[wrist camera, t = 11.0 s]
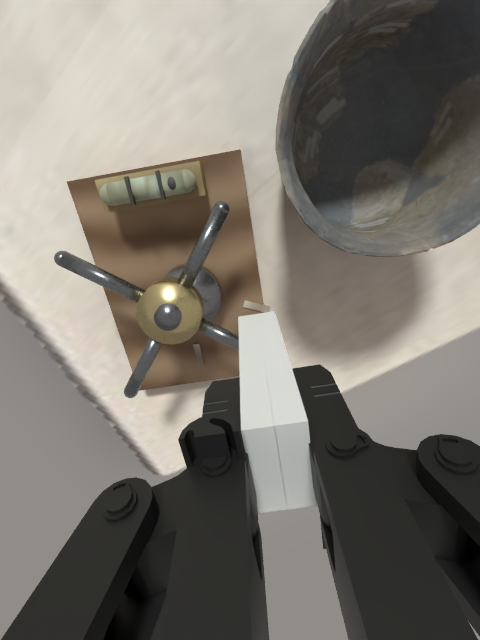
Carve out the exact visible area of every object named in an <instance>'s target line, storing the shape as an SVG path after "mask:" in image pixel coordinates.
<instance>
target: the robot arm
mask: <svg viewBox="0 0 480 640" xmlns="http://www.w3.org/2000/svg"><path fill="white" fill-rule="evenodd" d="M238 330H239V372H240V378H234V379H227V380H221V381H214V382H212V384H211V385H210V386H209V388H208V389H207V391H206V392H205V399H204V406H203V414H202V417H201V418H199V419H197V420H195V421H193V422H192V423H190V424H189V425H188V426H187V427H186V428H185V429H184V430H183V431H182V433H181V435H180V437H179V439H178V440H179V444H180V447H181V450H182V453H183V456H184V460H185V463H186V466H187V469H186V470H184V471H183V472H182V473H181V474H179V475H178V476H176V477H174V478H172V479H170V480H168V481H165V482H163V483H161V484H158V485H156V486H154V487H151V486H150V485H149V484H148V483H147V481H145V480H143V479H140V478H127V479H124V480H121V481H119V482H116V483H114V484H112V485H111V486H110V487H108V488H107V489H106V490H104V491H103V492H102V493H101V494H100V495H99V496H98V498H97V499H96V500H95V501H94V502H93V504H92V505H91V507H90V508H89V510H88V511H87V513H86V514H85V516H84V517H83V519H82V520H81V522H80V523H79V525H78V526H77V528H76V529H75V531H74V532H73V534H72V535H71V536H70V538H69V540H68V541H67V543H66V544H65V545H64V547H63V548H62V550H61V551H60V553H59V554H58V556H57V557H56V559H55V560H54V562H53V563H52V565H51V566H50V568H49V569H48V571H47V572H46V574H45V575H44V577H43V578H42V580H41V581H40V583H39V584H38V586H37V587H36V589H35V590H34V592H33V593H32V594H31V596H30V597H29V599H28V600H27V602H26V603H25V605H24V607H23V608H22V609H21V611H20V613H19V614H18V615H17V617H16V618H15V620H14V621H13V623H12V624H11V626H10V627H9V629H8V630H7V632H6V633H5V635H4V636H3V638H2V639H1V640H269V631H268V619H267V606H266V594H265V579H264V566H263V553H262V542H261V541H262V540H261V533H260V528H259V524H258V513H264V512H272V511H280V510H288V509H295V508H303V507H311V506H317V504H318V508H319V512H320V519H321V529H322V539H323V548H324V549H327V553H328V557H329V561H330V565H331V570H332V573H333V578H334V582H335V586H336V590H337V594H338V598H339V602H340V606H341V610H342V614H343V618H344V623H345V627H346V630H347V635H348V639H349V640H478V639H477V637H476V635H475V634H474V631H473V629H472V628H471V626H470V624H471V625H472V627H473V628H474V629H475V631H476V632H477V633H478V635H479V636H480V446H478V445H477V444H475V443H473V442H472V441H470V440H466V439H463V438H461V437H458V436H453V435H442V434H440V435H435V436H429V437H427V438H426V439H424V440H423V441H421V442H420V444H419V447H418V449H417V450H409V449H400V448H393V447H388V446H384V445H381V444H378V443H376V442H374V441H373V440H372V439H371V438H370V437H369V435H368V434H367V433H365V432H363V431H362V430H360V429H359V428H358V427H357V425H356V423H355V421H354V419H353V417H352V415H351V413H350V411H349V409H348V407H347V405H346V403H345V401H344V399H343V397H342V395H341V393H340V391H339V389H338V387H337V385H336V383H335V381H334V379H333V376H332V374H331V372H329V371H328V370H327V369H325V368H324V367H322V366H321V365H314V366H307V367H300V368H294V369H292V366H291V363H290V360H289V357H288V353H287V350H286V347H285V343H284V340H283V337H282V334H281V330H280V327H279V324H278V320H277V317H276V314H275V311H271V312H265V313H259V314H253V315H246V316H240V317H238ZM316 500H317V501H316ZM257 509H258V511H257ZM468 621H469V622H468ZM469 623H470V624H469Z"/></svg>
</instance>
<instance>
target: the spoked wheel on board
mask: <svg viewBox="0 0 480 640" xmlns="http://www.w3.org/2000/svg"><path fill="white" fill-rule="evenodd" d="M67 184H68V187H69V190H70V192H71V195H72V198H73V201H74V204H75V207H76V210H77V213H78V216H79V218H80V221H81V224H82V227H83V230H84V233H85V236H86V239H87V242H88V244H89V247H90V250H91V253H92V256H93V259H94V262H95V265H96V266H97V267H99V268H101V269H103V270H105V271H107V272H109V273H111V274H113V275H115V276H117V277H120V278H122V279H124V280H126V281H128V282H130V283H132V284H134V285H136V286H138V287H140V288H142V289H144V290H147V288H148V287H149V286H150V285H151V284H152V283H153V282H155V281H157V280H159V279H161V278H164V277H165V276H166V275H167V273H168V272H169V271H170V270H172V269H173V268H175V267H176V266H179V265H182V264H186V262H187V260H188V258H189V256H190V254H191V252H192V250H193V248H194V246H195V244H196V242H197V240H198V238H199V236H200V234H201V232H202V230H203V228H204V226H205V223H206V221H207V219H208V217H209V215H210V213H211V211H212V209H213V207H214V205H215V204H216V203H217V202H219V201H225V202H226V203H227V204H228V205H229V207H230V212H229V215H228V217H227V219H226V221H225V222H224V224H223V226H222V228H221V230H220V232H219V234H218V236H217V238H216V240H215V242H214V244H213V246H212V248H211V250H210V252H209V254H208V256H207V258H206V260H205V262H204V264H203V267H205V268H207V269H209V270H210V271H211V272H212V273H213V274H214V275H215V276H216V278H217V279H218V281H219V283H220V286H221V292H222V293H221V303H220V308H219V310H218V313H217V314H216V316H215V317H214V318H213V319H212V320H211V321H210V322H212V323H214V324H216V325H218V326H220V327H222V328H224V329H226V330H229V331H231V332H233V333H235V334H237V335H239V330H238V317H240V316H246V315H253V314H259V313H264V312H269V311H270V308H271V307H269V306H265V305H263V300H262V293H261V286H260V279H259V273H258V266H257V259H256V252H255V245H254V239H253V232H252V225H251V218H250V211H249V205H248V198H247V191H246V184H245V177H244V171H243V164H242V157H241V150H236V151H230V152H225V153H219V154H214V155H209V156H203V157H198V158H192V159H187V160H182V161H176V162H171V163H165V164H160V165H155V166H149V167H144V168H139V169H133V170H128V171H122V172H117V173H112V174H106V175H101V176H95V177H90V178H85V179H79V180H74V181H69V182H67ZM103 288H104V291H105V293H106V296H107V299H108V302H109V305H110V308H111V311H112V314H113V317H114V319H115V322H116V325H117V328H118V331H119V334H120V337H121V340H122V342H123V345H124V348H125V351H126V354H127V357H128V360H129V363H130V366H131V368H132V371H134V369H135V367H136V365H137V363H138V361H139V358H140V356H141V354H142V352H143V350H144V348H145V346H146V344H147V342H148V340H149V338H150V337H149V336H148V335H146V334H145V333H144V331H143V330H142V329H141V327H140V326H139V323H138V321H137V317H136V307H137V302H135V301H133V300H130V299H128V298H126V297H124V296H122V295H120V294H118V293H116V292H114V291H112V290H109V289H107V288H105V287H103ZM233 376H240V372H239V351H238V350H236V349H234V348H231V347H229V346H227V345H225V344H223V343H221V342H219V341H217V340H215V339H213V338H210V337H208V336H206V335H204V334H202V333H200V332H198V331H197V332H196V333H195V334H194V336H192V337H191V338H190V339H189V340H187V341H185V342H182V343H179V344H164V343H163V344H162V346H161V348H160V350H159V352H158V354H157V356H156V358H155V360H154V362H153V364H152V366H151V368H150V370H149V371H148V373H147V375H146V377H145V379H144V381H143V383H142V385H141V387H140V389H139V390H146V389H153V388H159V387H166V386H173V385H180V384H186V383H193V382H200V381H206V380H213V379H220V378H226V377H233Z"/></svg>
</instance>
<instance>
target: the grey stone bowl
mask: <svg viewBox="0 0 480 640" xmlns="http://www.w3.org/2000/svg"><path fill="white" fill-rule="evenodd" d="M276 154H277V159H278V163H279V168H280V173H281V177H282V181H283V184H284V187H285V190H286V193H287V196H288V198H289V200H290V202H291V203H292V205H293V206H294V208H295V209H296V210H297V212H298V213H299V215H300V216H301V218H302V219H303V221H304V222H305V224H306V225H307V226H308V227H309V228H310V229H311V230H312V231H313V232H314V233H315V234H317V235H318V236H319V237H320V238H321V239H322V240H324V241H326V242H327V243H329V244H331V245H332V246H334V247H336V248H338V249H340V250H342V251H346V252H350V253H355V254H361V255H368V256H381V257H392V256H404V255H409V254H415V253H420V252H426V251H428V250H429V249H430V248H437V247H439V246H442V245H444V244H447V243H450V242H452V241H454V240H455V239H457V238H459V237H461V236H462V235H464V234H466V233H467V232H469V231H471V230H472V229H473V228H475V227H476V226H477V225H479V224H480V0H331V1H330V2H329V3H328V5H327V6H326V7H325V8H324V9H323V10H322V11H321V12H320V13H319V14H318V16H317V18H316V19H315V21H314V23H313V24H312V26H311V28H310V29H309V31H308V33H307V35H306V36H305V38H304V40H303V42H302V44H301V46H300V48H299V50H298V51H297V53H296V55H295V57H294V62H293V66H292V69H291V71H290V72H289V74H288V76H287V79H286V82H285V85H284V89H283V92H282V96H281V100H280V105H279V112H278V119H277V127H276Z"/></svg>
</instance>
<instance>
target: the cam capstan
mask: <svg viewBox="0 0 480 640" xmlns="http://www.w3.org/2000/svg"><path fill="white" fill-rule="evenodd" d="M229 212H230V207H229V205H228V204H227V203H226V202H225V201H219V202H217V203H216V204H215V205H214V207H213V209H212V211H211V213H210V215H209V217H208V219H207V221H206V223H205V226H204V228H203V230H202V232H201V234H200V236H199V238H198V240H197V242H196V244H195V246H194V248H193V250H192V252H191V254H190V256H189V258H188V260H187V262H186V264H182V265H179V266H176V267H175V268H173V269H172V270H170V271H169V272H168V273H167V275H166V276H165V277H164V278H161V279H159V280H157V281H155V282H153V283H152V284H151V285H150V286H149V287H148V288H147V290H144V289H142V288H140V287H138V286H136V285H134V284H132V283H130V282H128V281H126V280H124V279H122V278H120V277H117V276H115V275H113V274H111V273H109V272H107V271H105V270H103V269H101V268H99V267H97V266H95V265H93V264H91V263H89V262H87V261H85V260H83V259H80V258H78V257H76V256H74V255H72V254H70V253H68V252H66V251H59V252H57V253H56V254H55V256H54V260H55V262H56V264H58V265H59V266H61V267H63V268H65V269H67V270H69V271H72V272H74V273H76V274H78V275H80V276H82V277H84V278H86V279H88V280H91V281H93V282H95V283H97V284H99V285H101V286H103V287H105V288H107V289H109V290H112V291H114V292H116V293H118V294H120V295H122V296H124V297H126V298H128V299H130V300H133V301H135V302H137V307H136V317H137V321H138V323H139V326H140V327H141V329H142V330H143V331H144V333H145V334H146V335H148V336H149V337H150V338H149V340H148V342H147V344H146V346H145V348H144V350H143V352H142V354H141V356H140V358H139V361H138V363H137V365H136V367H135V369H134V371H133V373H132V375H131V377H130V379H129V381H128V383H127V385H126V387H125V389H124V394H125V396H126V397H128V398H133V397H135V396H136V395H137V393H138V391H139V389H140V387H141V385H142V383H143V381H144V379H145V377H146V375H147V373H148V371H149V370H150V368H151V366H152V364H153V362H154V360H155V358H156V356H157V354H158V352H159V350H160V348H161V346H162V344H163V343H164V344H179V343H182V342H185V341H187V340H189V339H190V338H191V337H192V336H194V334H195V333H196V332H197V331H198V332H200V333H202V334H204V335H206V336H208V337H210V338H213V339H215V340H217V341H219V342H221V343H223V344H225V345H227V346H229V347H231V348H234V349H236V350H238V351H239V335H237V334H235V333H233V332H231V331H229V330H226V329H224V328H222V327H220V326H218V325H216V324H214V323H212V322H210V321H211V320H212V319H213V318H214V317H215V316H216V314H217V313H218V310H219V308H220V303H221V293H222V292H221V286H220V283H219V281H218V279H217V278H216V276H215V275H214V274H213V273H212V272H211V271H210V270H209V269H207V268H205V267H203V264H204V262H205V260H206V258H207V256H208V254H209V252H210V250H211V248H212V246H213V244H214V242H215V240H216V238H217V236H218V234H219V232H220V230H221V228H222V226H223V224H224V222H225V221H226V219H227V217H228V215H229Z"/></svg>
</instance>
